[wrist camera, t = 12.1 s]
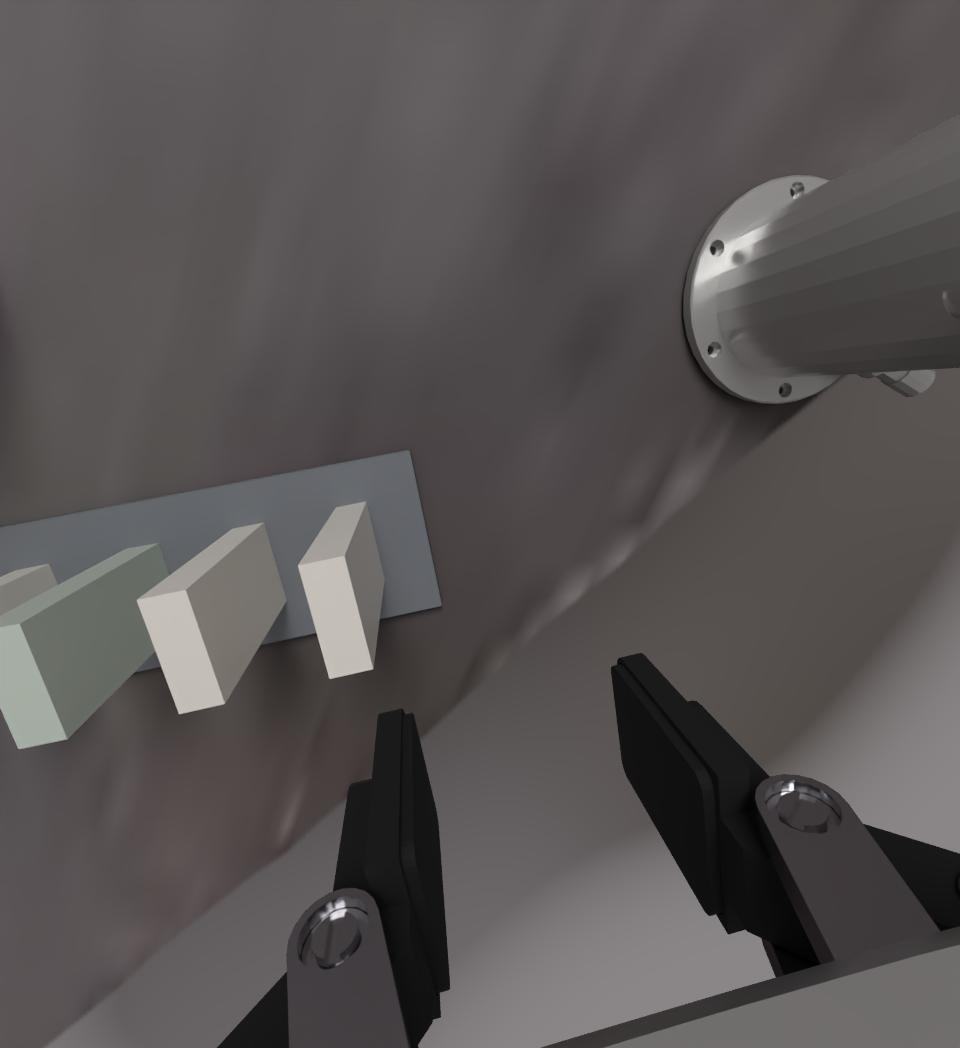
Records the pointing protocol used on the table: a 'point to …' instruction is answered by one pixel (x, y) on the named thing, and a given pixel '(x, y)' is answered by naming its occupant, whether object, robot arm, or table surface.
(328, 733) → the table surface
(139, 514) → the mat
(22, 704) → the domino
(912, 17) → the table surface
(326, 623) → the domino
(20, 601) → the domino
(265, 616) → the domino
